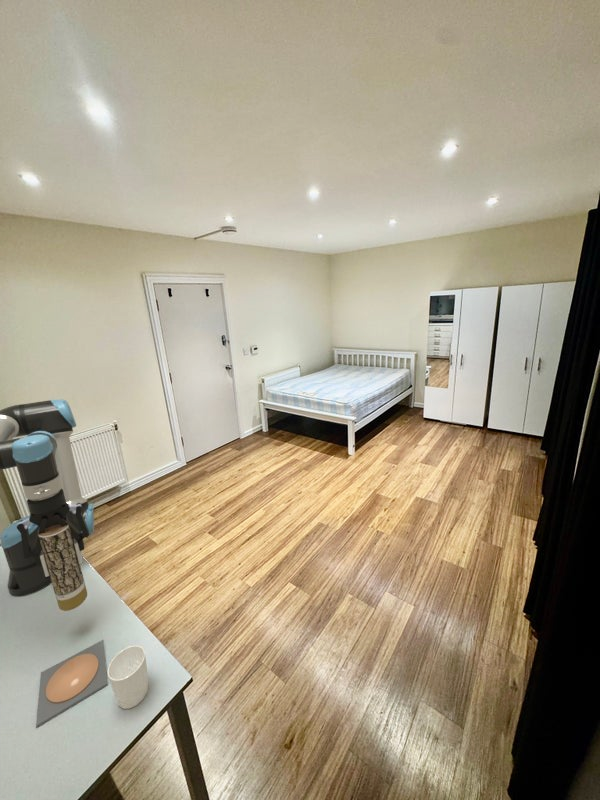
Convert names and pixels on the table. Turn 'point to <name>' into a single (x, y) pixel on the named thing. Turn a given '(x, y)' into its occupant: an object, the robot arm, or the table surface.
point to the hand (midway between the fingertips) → (64, 566)
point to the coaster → (71, 682)
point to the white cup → (129, 676)
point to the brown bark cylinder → (63, 566)
